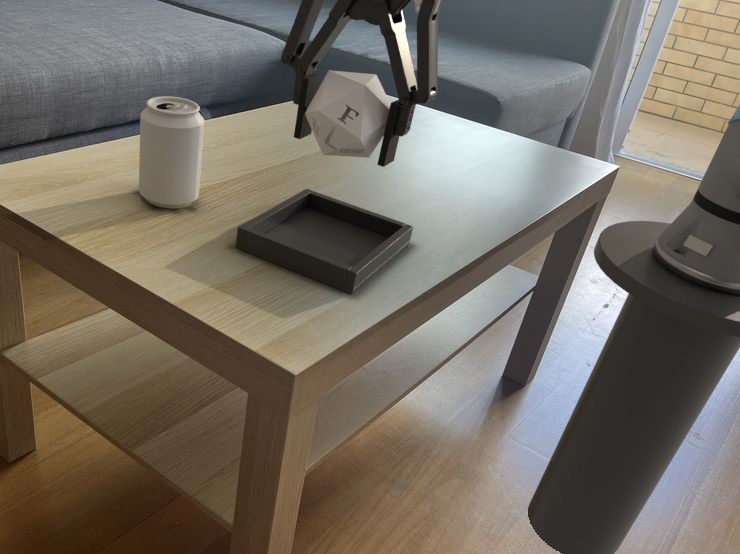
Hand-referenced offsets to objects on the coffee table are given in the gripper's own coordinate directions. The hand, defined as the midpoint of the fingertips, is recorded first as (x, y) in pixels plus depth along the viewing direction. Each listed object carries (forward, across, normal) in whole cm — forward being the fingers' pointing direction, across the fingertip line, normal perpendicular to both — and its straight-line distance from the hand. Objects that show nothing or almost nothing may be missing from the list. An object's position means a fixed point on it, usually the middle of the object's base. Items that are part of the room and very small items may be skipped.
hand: (343, 148), depth 79 cm
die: (0, 0, 0) cm, 0 cm away
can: (+12, -21, -3) cm, 24 cm away
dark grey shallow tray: (+12, 0, 0) cm, 12 cm away
